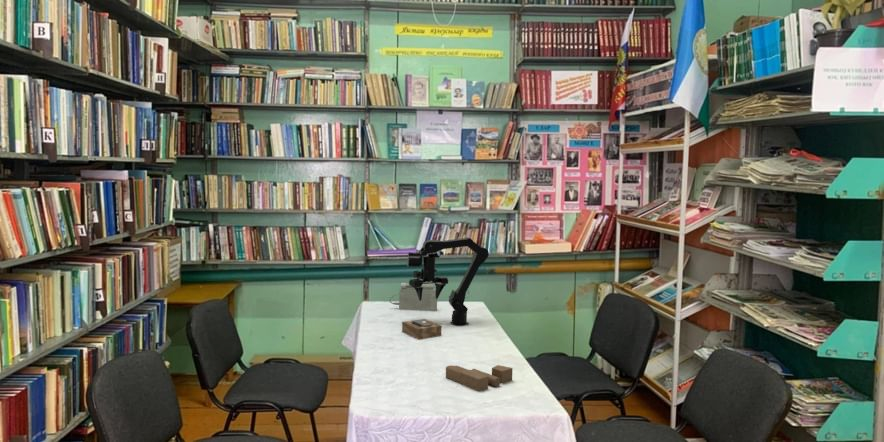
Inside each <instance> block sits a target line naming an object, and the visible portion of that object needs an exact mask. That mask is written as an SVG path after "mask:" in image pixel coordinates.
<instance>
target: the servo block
mask: <svg viewBox="0 0 884 442" xmlns="http://www.w3.org/2000/svg"><path fill="white" fill-rule="evenodd" d="M411 321H412V322H414V325H417V326H419V327H427V326H432V324H429V323H427V322H426V321H422V320H420V319H413V320H411Z"/></svg>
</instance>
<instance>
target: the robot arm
mask: <svg viewBox="0 0 884 442" xmlns="http://www.w3.org/2000/svg"><path fill="white" fill-rule="evenodd" d="M465 247H468V249H470V250H471V251H472V252H473V253H472V257H471V262H470V264H469V266H468V268H467V270H466V271H465V274H464V275H463V278H462V279H461V282H460V284H459V286H458V288H456V289H455V290H454V289H451V292H450V295H449V296H448V304H449V305H450V306H451V308H452V309H453V310H452V314H451V321H450V323H451V324H453V325H455V326H457V327H458V326H465V325H469V322H468V321H467V320H468V318H467V317H468V316H467V315H468V309H469V308H468V307H467V306H466V305H465V299H466V294H467V291H468V290H469V287H470V286H471V284H472V282H473V280H474V278H475V276H476V274H477V272H478V270H479V268H480V267H481V265H482V264H484V263H485V262H486V260H487V259H488V257H489V256H490V253H489V250H488V249H487V248H486V247H484V246H482V245H479V244H478V243H476V242H475V241H474V240H473V239H472V238H471V237H464V238H463V237H462V238H455V239H445V240H439V239H426V240H425V241H424V242H423V244H422V247H420V248H421V249H420V250H419V251H418V252H408V253H407V258H406V266H407V267H408V268H420V267H421V266H422V268H421V271H419V270H413V272H412V273H413V276H412V277H413V278H412V279H411V278H410V279H409V280H408V284H409V285H410V286H412V287H414V288H413V289H415V290H416V292H417V295H418V298H419V300H420V301H421V299H422V290H423V287H421V286H422V284H428V285H430V284H434V287H436V299H437V300H438V299H439V297H440V295H441V293H442V291H443V289H444V287H446V286H447V285H449V279H448V277H447V276H443V275H441V276H436V272H437V271H438V270H437V269H436V258H438V259H440V258H441V256H440V255H439V254H438V253H437V252H440V251H442V250H447V249H455V248H465Z"/></svg>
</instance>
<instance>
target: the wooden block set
mask: <svg viewBox="0 0 884 442" xmlns="http://www.w3.org/2000/svg"><path fill="white" fill-rule="evenodd" d="M445 378H447V379H449V380H452V381H454V382H456V383H459V384H460V385H461V386H465V387H467V388H469V389H472V390H474V391H477V392H481V391H485V390H487V389H489V385H491V386H493V387H500V385H501V383H502V384H505V383H508V382H510V381H513V367H510V366H504V365H500V364H497V365H494V366H492V367H491V374H490V373H487V372H484V371H481V370H480V369H476V368H472V369H467V368H464V367H463V366H459V365H447V366H446V367H445Z"/></svg>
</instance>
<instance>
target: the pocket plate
mask: <svg viewBox="0 0 884 442" xmlns="http://www.w3.org/2000/svg"><path fill="white" fill-rule="evenodd" d="M419 320H422V321H426V322H427V323H429V324H432V326H427V327H419V326H417V325H414V322H412V321H413V320H407V321H402V322H401V323H402V325H401V333H403V334H406V335H408V336H410V337H411V338H414V339H417V340H423V339H428V338H435V337H441V336H442V327H443V326H442V325H441V324H438V323H436V322H433V321H431V320H429V319H427V318H422V319H421V318H420V319H419Z"/></svg>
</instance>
